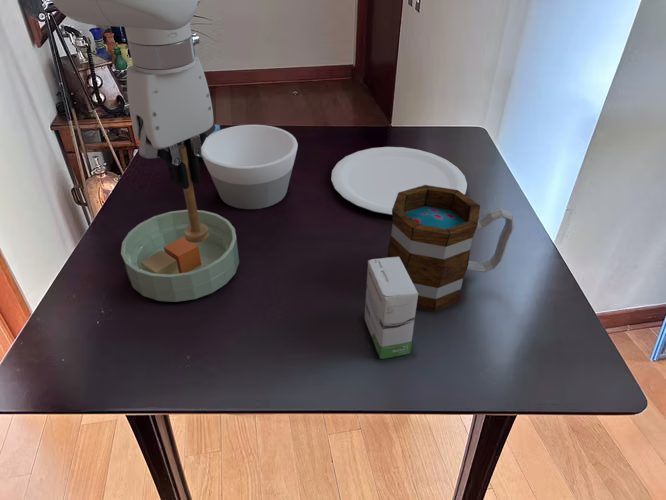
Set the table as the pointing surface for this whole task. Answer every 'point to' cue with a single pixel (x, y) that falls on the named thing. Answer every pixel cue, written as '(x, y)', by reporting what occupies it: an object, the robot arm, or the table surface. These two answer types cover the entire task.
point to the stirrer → (192, 207)
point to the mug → (440, 241)
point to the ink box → (390, 306)
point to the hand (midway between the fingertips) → (186, 181)
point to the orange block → (184, 254)
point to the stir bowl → (198, 282)
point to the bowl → (250, 164)
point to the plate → (391, 176)
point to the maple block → (160, 264)
